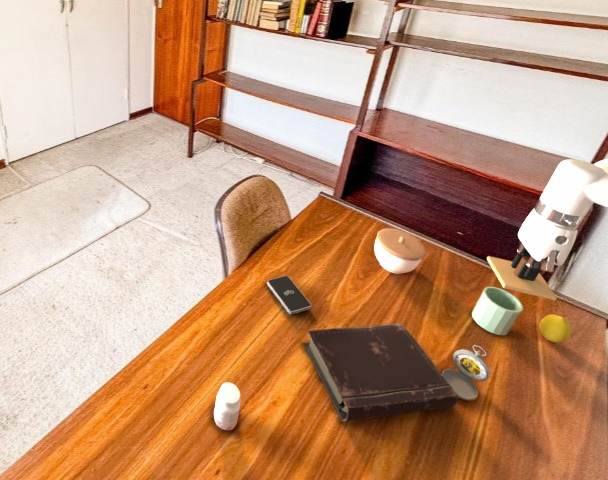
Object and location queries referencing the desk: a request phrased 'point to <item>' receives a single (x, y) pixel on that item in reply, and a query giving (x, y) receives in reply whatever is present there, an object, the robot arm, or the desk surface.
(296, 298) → the external hard drive
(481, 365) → the pocket watch
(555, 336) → the lemon
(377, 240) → the lidded bowl
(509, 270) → the square peg board
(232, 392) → the pill bottle
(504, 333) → the cup
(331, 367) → the diary
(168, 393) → the desk surface
